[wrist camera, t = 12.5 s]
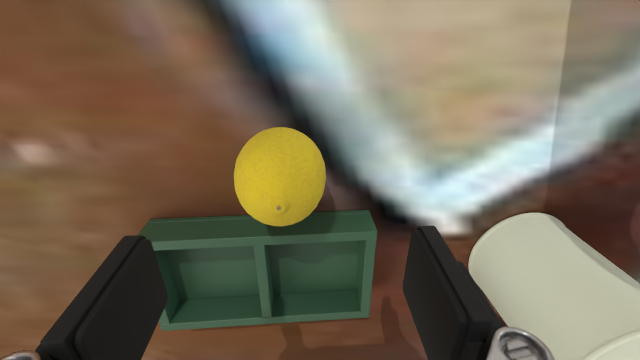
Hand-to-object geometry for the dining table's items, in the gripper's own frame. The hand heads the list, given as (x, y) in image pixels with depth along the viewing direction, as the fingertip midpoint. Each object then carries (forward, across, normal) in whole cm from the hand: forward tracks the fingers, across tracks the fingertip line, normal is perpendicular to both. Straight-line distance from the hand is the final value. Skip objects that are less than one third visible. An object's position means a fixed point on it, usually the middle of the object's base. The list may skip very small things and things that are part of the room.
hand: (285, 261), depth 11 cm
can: (+13, -20, +12) cm, 27 cm away
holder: (+12, +3, +11) cm, 17 cm away
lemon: (+13, +1, +1) cm, 13 cm away
